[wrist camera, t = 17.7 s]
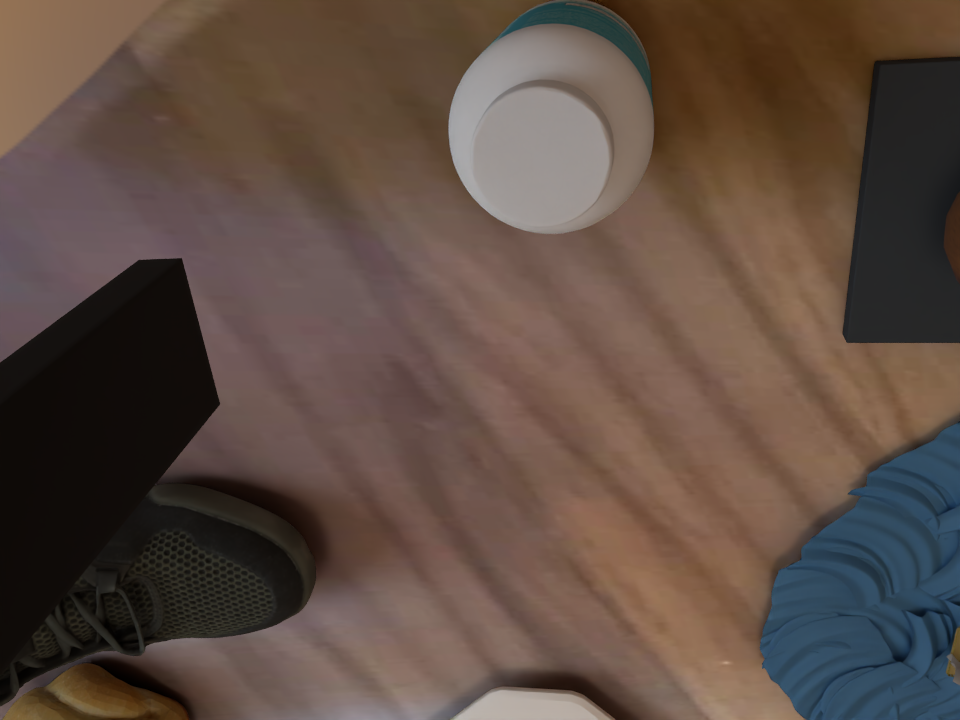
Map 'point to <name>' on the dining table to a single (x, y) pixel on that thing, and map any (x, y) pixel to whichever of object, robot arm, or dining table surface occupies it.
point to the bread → (93, 699)
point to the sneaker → (174, 581)
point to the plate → (532, 706)
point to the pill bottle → (555, 118)
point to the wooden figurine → (953, 237)
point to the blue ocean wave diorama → (877, 599)
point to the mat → (907, 207)
